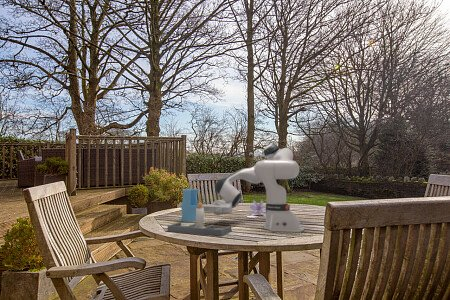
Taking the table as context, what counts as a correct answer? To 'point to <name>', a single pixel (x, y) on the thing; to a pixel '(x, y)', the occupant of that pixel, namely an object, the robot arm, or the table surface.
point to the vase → (189, 205)
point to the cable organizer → (199, 229)
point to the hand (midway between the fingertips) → (209, 210)
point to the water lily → (257, 208)
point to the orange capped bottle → (199, 216)
